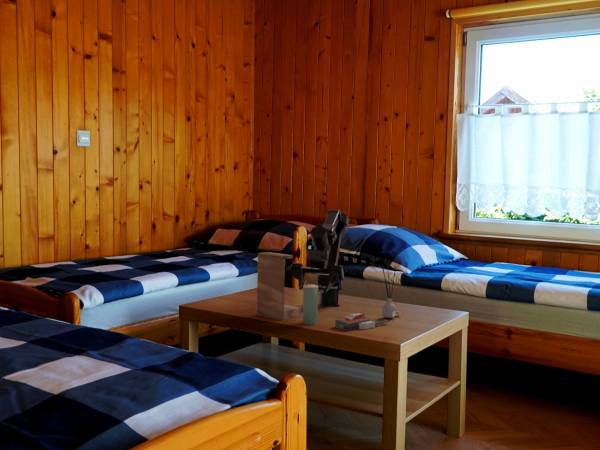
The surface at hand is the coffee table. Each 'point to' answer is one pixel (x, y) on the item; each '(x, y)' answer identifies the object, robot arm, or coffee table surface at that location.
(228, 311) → the coffee table surface
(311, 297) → the tea tin
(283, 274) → the nook
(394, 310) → the reed diffuser
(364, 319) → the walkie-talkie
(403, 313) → the coffee table surface
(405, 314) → the coffee table surface
